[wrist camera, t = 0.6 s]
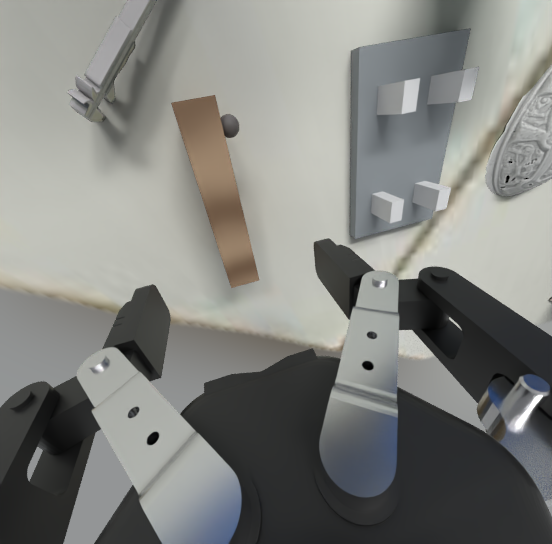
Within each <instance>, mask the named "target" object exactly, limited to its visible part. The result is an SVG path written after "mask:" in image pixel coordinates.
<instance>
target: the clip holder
mask: <svg viewBox="0 0 552 544" xmlns="http://www.w3.org/2000/svg"><path fill="white" fill-rule="evenodd" d="M470 29H471V28H470ZM470 29H464V30H458V31H452V32H446V33H440V34H434V35H428V36H422V37H416V38H410V39H404V40H399V41H393V42H387V43H381V44H375V45H369V46H363V47H359V48H357V49H354V50H352V51H351V158H350V235H351V236H352V237H353V238H354V239H357V238H361V237H365V236H368V235H372V234H376V233H379V232H383V231H387V230H391V229H394V228H398V227H402V226H405V225H409V224H413V223H417V222H420V221H424V220H428V219H431V218H432V215H433V211H438V210H442V209H446V207H447V203H448V199H449V194H450V190H451V188H450V187H447V186H443V185H439V181H440V176H441V171H442V166H443V161H444V157H445V152H446V147H447V142H448V137H449V132H450V127H451V122H452V117H453V112H454V108H455V103H456V102H462V101H467V100H472V96H473V91H474V87H475V83H476V78H477V74H478V70H479V67H475V68H470V69H464V70H462V68H463V64H464V59H465V54H466V49H467V44H468V39H469V34H470Z"/></svg>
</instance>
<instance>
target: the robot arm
mask: <svg viewBox="0 0 552 544" xmlns="http://www.w3.org/2000/svg"><path fill="white" fill-rule="evenodd" d="M314 256H315V268H316V272H317V275H318V278H319V279H320V281H321V282H322V283H323V285H324V286H325V287H326V289H327V290H328V292H329V293H330V294H331V296H332V297H333V298H334V300H335V301H336V303H337V304H338V305H339V307H340V308H341V309H342V311H343V312H344V314H345V315H346V316H347V318H348V319H349V320H350V322H349V326H348V330H347V334H346V339H345V343H344V347H343V351H342V356H341V359H339V358H335V357H330V356H316V354H315V352H314V350H313V348H312V349H309V350H306V351H303V352H300V353H297V354H294V355H290V356H287V357H286V358H284V359H282V360H280V361H279V362H277V363H275V364H274V365H272V366H270V367H269V368H267V369H265V370H263V371H261V372H252V373H240V374H231V375H228V376H225V377H222V378H219V379H216V380H212V381H209V382H206V383H204V393H203V394H202V395H200V396H199V397H197V398H196V399H195V400H193V401H192V402H191V403H190V404H189V405H188V406H187V407H186V408H185V409H184V410H183V411H182V412H181V414H179V413H178V412H177V411H176V410H175V408H174V407H173V406H172V405H171V404H170V403H169V402H168V401H167V400H166V399H165V398H164V397H163V396H162V394H161V393H160V392H159V391H158V390H157V389H156V388H155V387H154V386H153V385H152V384H151V383H150V381H152V380H155V379H158V378H161V375H162V369H163V363H164V357H165V351H166V345H167V339H168V333H169V327H170V321H171V318H170V313H169V310H168V308H167V306H166V304H165V302H164V300H163V298H162V297H161V295H160V293H159V291H158V289H157V288H156V286H155V285H149V286H145V287H142V288H138V289H136V290H135V292H134V295H133V297H132V300H131V301H129V302H127V303H126V304H125V305H124V306H123V307H122V308H121V309H120V311H119V313H118V315H117V317H116V320H115V322H114V324H113V327H112V329H111V331H110V333H109V336H108V338H107V340H106V342H105V344H104V347H103V349H102V350H100V351H98V352H96V353H94V354H93V355H91V356H90V357H89V358H87V359H86V360H85V361H84V362H83V363H82V365H81V366H80V368H79V369H78V371H77V376H76V377H74V378H72V379H70V380H68V381H66V382H64V383H62V384H60V385H58V386H56V387H55V388H53V387H51V386H50V385H49V384H48V383H47V382H36V383H33V384H30V385H28V386H26V387H24V388H23V389H21V390H20V391H18V392H17V393H15V394H14V395H13V396H11V397H10V398H9V399H8V400H7V401H6V402H5V403H4V404H3V405H2V406H1V408H0V544H63V542H64V539H65V536H66V532H67V529H68V525H69V522H70V518H71V515H72V511H73V508H74V505H75V501H76V498H77V494H78V490H79V487H80V484H81V481H82V477H83V474H84V470H85V467H86V464H87V460H88V457H89V453H90V450H91V446H92V443H93V439H94V436H95V433H96V432H97V431H98V430H100V429H102V431H103V433H104V434H105V436H106V438H107V440H108V441H109V443H110V445H111V447H112V448H113V450H114V451H115V454H116V455H117V457H118V459H119V461H120V462H121V464H122V465H123V467H124V469H125V471H126V473H127V474H128V476H129V478H130V480H131V481H132V483H133V485H132V487H131V488H130V490H129V492H128V493H127V495H126V496H125V498H124V499H123V501H122V502H121V504H120V505H119V507H118V508H117V510H116V511H115V513H114V514H113V516H112V518H111V519H110V520H109V522H108V523H107V525H106V527H105V528H104V530H103V531H102V533H101V534H100V536H99V537H98V539H97V540H96V542H95V543H94V544H552V516H551V514H550V512H549V509H548V507H550V506H552V336H550V335H549V334H547V333H546V332H544V331H543V330H541V329H540V328H538V327H537V326H535V325H534V324H532V323H531V322H529V321H528V320H526V319H525V318H523V317H522V316H520V315H519V314H517V313H516V312H514V311H513V310H511V309H510V308H508V307H507V306H505V305H504V304H502V303H501V302H499V301H498V300H496V299H495V298H493V297H492V296H490V295H489V294H487V293H486V292H484V291H483V290H481V289H480V288H478V287H477V286H475V285H474V284H472V283H471V282H469V281H468V280H466V279H465V278H463V277H462V276H460V275H459V274H457V273H456V272H454V271H452V270H450V269H447V268H443V267H427V268H424V269H422V270H421V271H420V272H419V276H418V279H406V280H398V278H397V277H396V276H395V275H393V274H391V273H389V272H385V271H375V270H374V269H373V268H372V267H370V266H369V265H368V264H367V263H366V262H365V261H364V260H362V259H361V258H360V257H359V256H358V255H357V254H355V253H354V252H353V251H352V250H351V249H350V248H348V247H345V246H343V245H338V246H337V245H336V244H335V243H334V242H333V241H332V240H330V239H329V238H327V239H324V240H320V241H316V242H314ZM449 317H451V318H452V319H453V320H454V321H455V322H456V323H457V324H458V325H459V326H460V327H461V329H462V330H460V329H459V328H458V327H457V326H456V325H455V324H454V323H453V322H451V321H450V320H449ZM399 330H413V331H414V333H415V334H416V335H417V336H418V337H419V338H420V339H421V340H422V341H423V343H424V344H425V345H426V346H427V347H428V348H429V349H430V350H431V352H432V353H433V354H434V355H435V356H436V357H437V358H438V359H439V361H440V362H441V363H442V364H443V365H444V366H445V367H446V368H447V369H448V371H450V373H451V374H452V375H453V376H454V377H455V378H456V380H457V381H458V382H459V383H460V384H461V385H462V386H463V387H464V388H465V390H466V391H467V392H468V393H469V394H470V395H471V396H472V397H473V399H474V400H475V401H476V402H477V403H478V405H477V414H478V417H479V419H480V421H481V423H482V424H483V426H484V427H485V429H486V433H485V432H484V431H482V430H480V429H479V428H477V427H475V426H473V425H471V424H469V423H467V422H465V421H463V420H461V419H459V418H457V417H455V416H453V415H452V414H449V413H447V412H445V411H444V410H442V409H440V408H438V407H436V406H434V405H432V404H430V403H428V402H426V401H424V400H422V399H420V398H418V397H416V396H414V395H412V394H410V393H408V392H406V391H405V390H403V389H401V388H399V387H397V376H398V343H399ZM37 446H38V447H39V448H41V449H42V450H43V452H42V454H41V457H40V459H39V461H38V464H37V466H36V468H35V470H34V473H33V475H32V477H31V479H30V482H29V481H28V478H27V469H28V466H29V463H30V461H31V459H32V457H33V454H34V452H35V450H36V448H37Z"/></svg>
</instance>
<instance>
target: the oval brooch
mask: <svg viewBox="0 0 552 544" xmlns="http://www.w3.org/2000/svg"><path fill="white" fill-rule="evenodd" d="M513 131H515V132H513ZM510 159H512V160H510ZM536 159H537V160H536ZM532 160H533V164H531V162H532ZM509 161H513V162H512V163H509ZM528 163H529V165H527V164H528ZM503 165H504V166H503ZM525 165H526V166H525ZM508 175H509V176H510V178H509V180H508V183H505V181H506V177H507V176H508ZM526 177H527V178H529V179H526ZM514 178H516V179H514ZM524 178H525V180H524ZM485 179H486V180H485V181H486V184H487V187H488V188H489V189H490V191H491V192H493V193H496V194H498V195H501V196H513V195H516V194H519V193H522V192H524V191H526V190H529V189H532V188H534V187H537V186H539V185H541V184H543V183H545V182H547V181H548V180H550V179H552V65H551V66H550V67H549V68H548V69H547V71H546V72H545V73H544V75H543V76H542V77H541V78H540V80H539V81H538V82H537V83H536V84H535V86H534V87H533V88H532V89H531V90H530V91H529V92H528V93H527V94H526V95H524V96H523V98H522V99H521V101H520V102H519V104H518V106H517V107H516V110H515V111H514V113H513V114H512V116H511V119H510V120H509V122H508V123H507V125H506V128H505V131H504V133H503V134H502V135H501V137H500V138H499V139H498V141H497V142H496V144H495V146H494V148H493V150H492V152H491V154H490V158H489V160H488V164H487V167H486V175H485ZM512 179H514V180H513V181H512ZM529 184H531V185H529ZM500 187H505V188H500ZM500 189H502V190H500Z"/></svg>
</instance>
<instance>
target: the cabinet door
mask: <svg viewBox="0 0 552 544" xmlns="http://www.w3.org/2000/svg"><path fill="white" fill-rule="evenodd" d="M171 104H172V107H173V110H174V113H175V116H176V119H177V122H178V125H179V128H180V131H181V135H182V138H183V141H184V144H185V147H186V150H187V153H188V156H189V159H190V162H191V165H192V168H193V171H194V174H195V178H196V181H197V184H198V187H199V190H200V193H201V196H202V199H203V202H204V205H205V208H206V211H207V214H208V217H209V221H210V224H211V227H212V230H213V233H214V236H215V239H216V242H217V245H218V248H219V251H220V254H221V257H222V260H223V264H224V267H225V270H226V273H227V276H228V279H229V282H230V285H231V288H233V287H237V286H240V285H244V284H247V283H251V282H255V281H258V280H259V277H258V272H257V268H256V264H255V260H254V256H253V252H252V248H251V243H250V239H249V235H248V231H247V227H246V223H245V218H244V214H243V210H242V206H241V202H240V198H239V193H238V189H237V185H236V181H235V177H234V173H233V168H232V164H231V160H230V156H229V152H228V148H227V144H226V139H225V137H228V138H232V137H234V136H236V135H237V133H238V131H239V123H238V120H237V119H236V118H235V117H234V116H233V115H230V114H226V115H223V116H222V117H221V118H220V114H219V110H218V106H217V102H216V98H215V95H213V96H207V97H202V98H196V99H190V100H185V101H179V102H174V103H171Z"/></svg>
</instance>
